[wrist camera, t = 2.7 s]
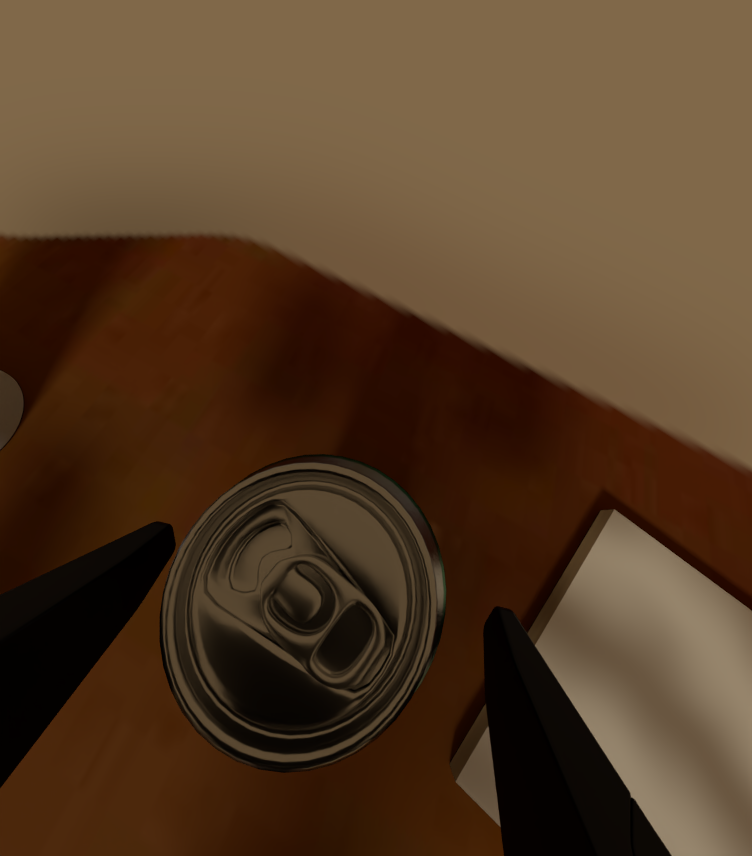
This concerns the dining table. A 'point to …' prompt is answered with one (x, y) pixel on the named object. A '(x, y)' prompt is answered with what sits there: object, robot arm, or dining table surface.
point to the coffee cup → (9, 407)
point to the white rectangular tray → (648, 687)
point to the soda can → (302, 613)
